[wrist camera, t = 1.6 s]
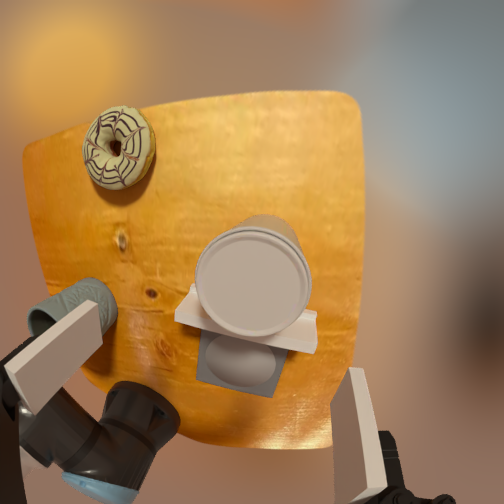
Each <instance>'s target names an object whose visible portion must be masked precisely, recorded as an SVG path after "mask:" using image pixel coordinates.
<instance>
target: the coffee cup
mask: <svg viewBox="0 0 504 504" xmlns="http://www.w3.org/2000/svg"><path fill="white" fill-rule="evenodd" d="M195 286H196V291H197V295H198V298H199V300H200V303H201V305H202V307H203V308H204V310H205V311H206V313H207V314H208V315H209V316H210V318H211V319H212V320H213V321H215V322H216V323H217V324H218V325H220V326H221V327H223V328H224V329H226V330H228V331H230V332H233V333H235V334H239V335H242V336H249V337H261V336H268V335H272V334H275V333H277V332H280V331H282V330H283V329H285V328H287V327H288V326H290V325H291V324H292V323H293V322H295V321H296V320H297V319H298V318H299V317H300V315H301V314H302V313H303V311H304V310H305V308H306V306H307V304H308V301H309V298H310V294H311V287H312V280H311V273H310V269H309V266H308V263H307V261H306V259H305V257H304V255H303V252H302V249H301V246H300V244H299V241H298V238H297V236H296V234H295V232H294V230H293V229H292V227H291V226H290V225H289V224H288V223H287V222H286V221H284V220H283V219H281V218H279V217H277V216H274V215H269V214H261V215H255V216H252V217H250V218H248V219H246V220H244V221H243V222H241V223H239V224H238V225H236V226H235V227H233V228H232V229H230V230H228V231H226V232H224V233H222V234H220V235H219V236H217V237H216V238H214V239H213V240H212V241H211V242H210V243H209V244H208V245H207V246H206V247H205V249H204V250H203V252H202V253H201V255H200V257H199V260H198V262H197V266H196V270H195Z"/></svg>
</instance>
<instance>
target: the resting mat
mask: <svg viewBox="0 0 504 504" xmlns="http://www.w3.org/2000/svg"><path fill="white" fill-rule="evenodd" d="M288 351H289V349H285V348H280V347H275V346H270V345H266V344H261V343H257V342H252V341H248V340H244V339H240V338H236V337H231V336H227V335H223V334H220V333H216V332H212V331H208V330H204V329H201V338H200V347H199V356H198V366H197V376H196V380H199V381H203V382H206V383H210V384H213V385H217V386H221V387H225V388H229V389H233V390H237V391H241V392H246V393H250V394H255V395H259V396H264V397H269V398H272V397H273V394H274V391H275V388H276V386H277V383H278V380H279V377H280V374H281V371H282V368H283V366H284V363H285V360H286V357H287V354H288Z"/></svg>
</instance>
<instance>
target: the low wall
mask: <svg viewBox="0 0 504 504" xmlns="http://www.w3.org/2000/svg"><path fill="white" fill-rule="evenodd" d="M316 317H317V311H312V310H307V309H305V310H304V311H303V313H302V314H301V315H300V317H299V318H298V319H297V320H296V321H295V322H293V323H292V324H291V325H290V326H288V327H287V328H285V329H283V330H282V331H280V332H277V333H275V334H272V335H268V336H261V337H249V336H242V335H239V334H235V333H233V332H230V331H228V330H226V329H224V328H223V327H221V326H220V325H218V324H217V323H216V322H215V321H213V320H212V319H211V318H210V316H209V315H208V314H207V313H206V311H205V310H204V308H203V307H202V305H201V303H200V300H199V298H198V295H197V291H196V286H195V283H193V284H192V285H191V286H190V292H189V293H188V294H187V296H186V297H185V298H184V299H183V301H182V302H181V303H180V305H179V306H178V307H177V308H176V310H175V321H176V322H180V323H183V324H187V325H190V326H194V327H197V328H201V329H204V330H208V331H212V332H216V333H220V334H223V335H227V336H231V337H236V338H240V339H244V340H248V341H252V342H257V343H261V344H266V345H270V346H275V347H280V348H285V349H290V350H295V351H300V352H306V353H311V354H314V352H315V350H316V347H317V344H318V340H317V331H316V322H315V320H316Z"/></svg>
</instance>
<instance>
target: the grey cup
mask: <svg viewBox="0 0 504 504" xmlns="http://www.w3.org/2000/svg"><path fill="white" fill-rule="evenodd" d="M86 300H90V301H92V302H95V303H98V310H99V319H100V327H101V334H102V336H103V335H104V334H105V332H106V331H107V330H108V329H109V328H110V326H111V325H112V324H113V323H114V322H115V320H116V318H117V314H118V311H117V309H118V308H117V304H116V301H115V298H114V297H113V294H112V293H111V291H110V290H109V288H108V287H107V286H106V285H105V284H104V283H102V282H101V281H99V280H98V279H95V278H84V279H82V280H80V281H78V282H77V283H76V284H74V285H73V286H70V287H68V288H67V289H64V290H63V291H61V292H60V293H58V294H56V295H54V296H52V297H50V298H48V299H46V300H44V301H42V302H40V303H39V304H37V305H35V306H33V307H32V308H30V310H29V311H28V314H27V324H28V328H29V331H30V334H31V337H32V336H35V335H37V334H39V335H42V334H43V333H44V332H46V331H47V330H48V329H49V328H51V327H52V326H53V325H54V324H56V323H57V322H58V321H60V320H61V319H62V318H64V317H65V316H66V315H67V314H69V313H70V312H71V311H73V310H74V309H75V308H77V307H78V306H79V305H81V304H82V303H83V302H85V301H86Z"/></svg>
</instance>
